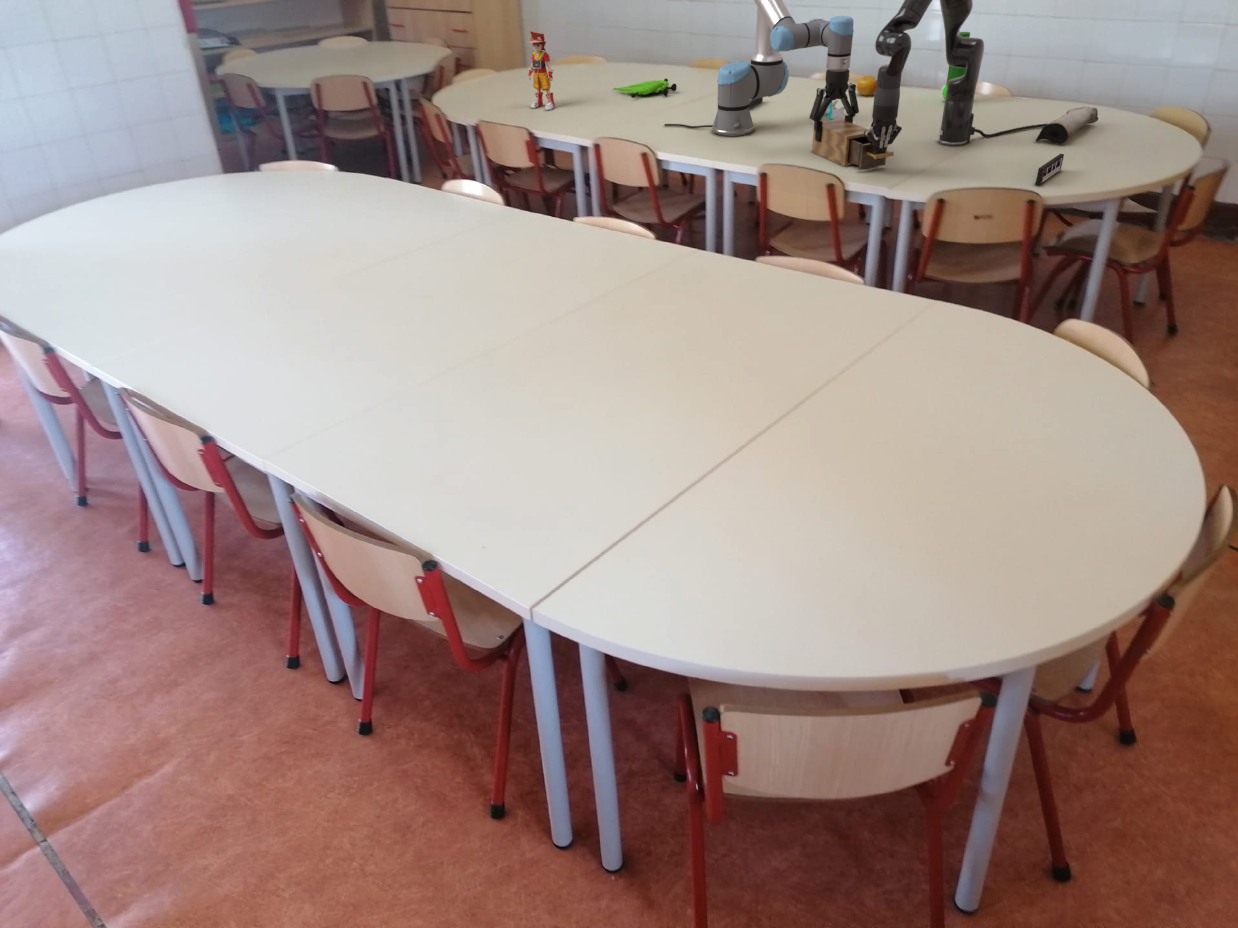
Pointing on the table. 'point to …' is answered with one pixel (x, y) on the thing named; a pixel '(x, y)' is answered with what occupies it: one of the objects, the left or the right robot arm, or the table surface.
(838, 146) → the cabinet
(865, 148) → the drawer
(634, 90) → the toy
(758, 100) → the disk drive
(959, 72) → the plastic bottle
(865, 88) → the fruit
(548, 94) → the toy
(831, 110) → the anatomical model
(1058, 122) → the rolled mat
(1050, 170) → the midi keyboard
